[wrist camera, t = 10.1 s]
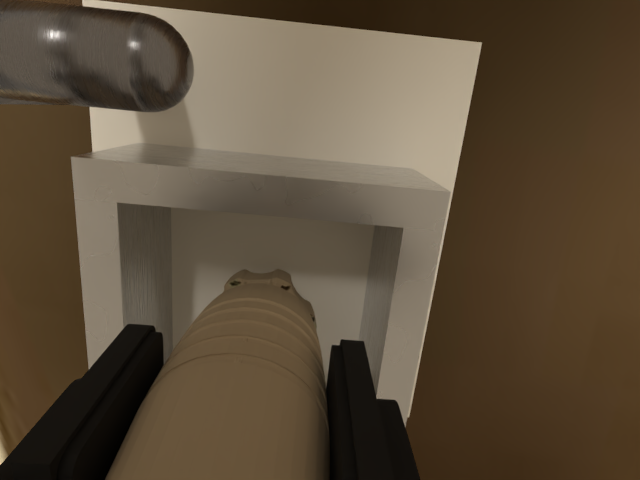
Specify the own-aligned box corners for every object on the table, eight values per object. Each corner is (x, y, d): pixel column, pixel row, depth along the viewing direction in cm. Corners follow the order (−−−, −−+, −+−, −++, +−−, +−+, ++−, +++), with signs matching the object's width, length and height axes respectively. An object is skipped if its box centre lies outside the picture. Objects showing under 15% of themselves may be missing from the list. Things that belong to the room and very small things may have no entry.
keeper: (98, 6, 13) (-264, -164, 5) (470, 46, 14) (712, -45, 5) (120, 381, 17) (-54, 631, 9) (403, 400, 18) (483, 652, 10)
